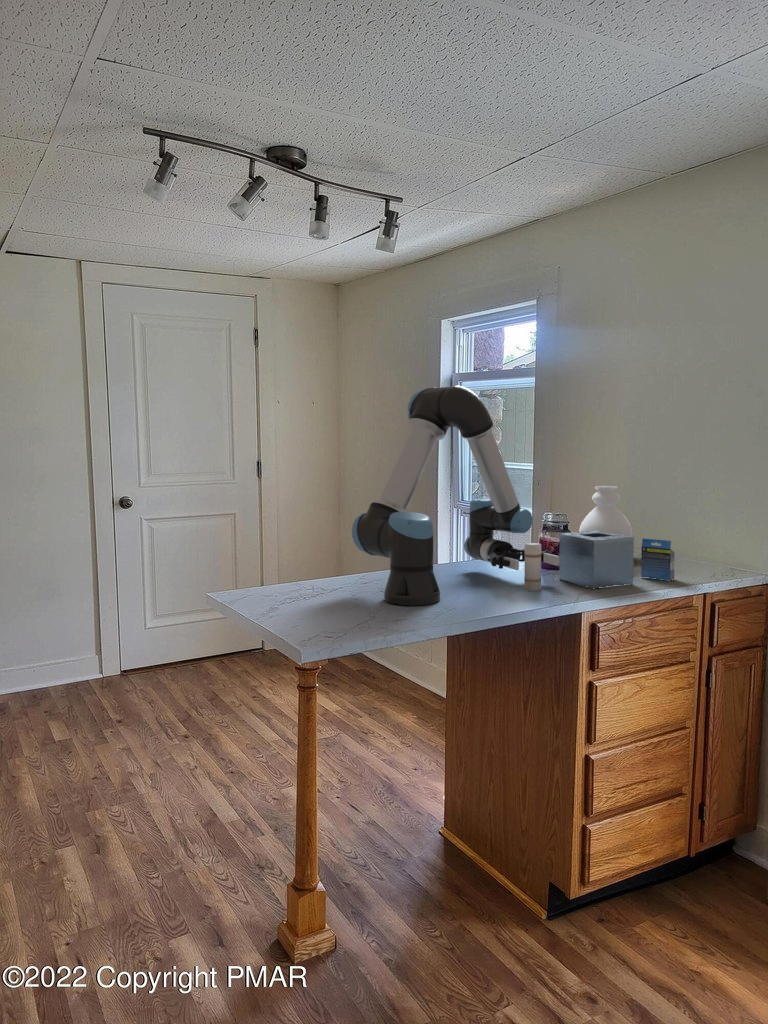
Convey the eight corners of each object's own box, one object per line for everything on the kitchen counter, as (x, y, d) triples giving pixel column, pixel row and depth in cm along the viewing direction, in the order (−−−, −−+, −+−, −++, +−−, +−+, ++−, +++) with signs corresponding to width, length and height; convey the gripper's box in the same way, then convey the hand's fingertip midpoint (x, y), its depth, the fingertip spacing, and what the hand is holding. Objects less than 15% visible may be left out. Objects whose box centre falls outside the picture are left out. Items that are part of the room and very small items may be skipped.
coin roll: (530, 591, 207) (530, 546, 205) (521, 588, 211) (521, 543, 209) (544, 590, 208) (544, 544, 207) (534, 587, 213) (535, 542, 211)
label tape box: (674, 579, 220) (675, 538, 218) (670, 581, 216) (671, 540, 215) (645, 576, 225) (646, 536, 224) (640, 578, 222) (641, 538, 221)
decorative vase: (625, 553, 267) (626, 484, 264) (637, 561, 249) (638, 488, 247) (575, 553, 269) (575, 485, 266) (583, 562, 251) (584, 488, 248)
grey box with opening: (593, 589, 208) (594, 540, 207) (559, 579, 223) (559, 533, 221) (632, 584, 213) (633, 536, 212) (596, 575, 228) (597, 530, 227)
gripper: (531, 560, 231) (574, 572, 212) (462, 568, 222) (500, 580, 202) (531, 537, 231) (574, 546, 211) (462, 543, 221) (500, 553, 201)
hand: (538, 563), depth 207 cm, fingers open, 13 cm apart
